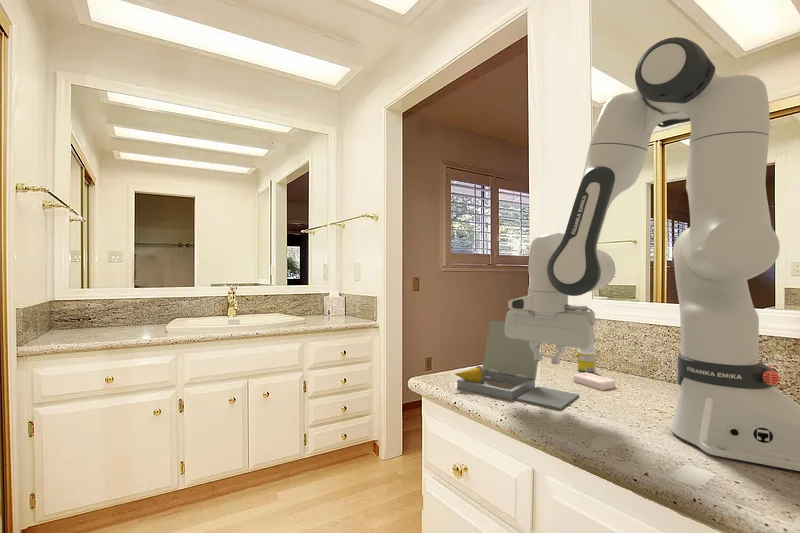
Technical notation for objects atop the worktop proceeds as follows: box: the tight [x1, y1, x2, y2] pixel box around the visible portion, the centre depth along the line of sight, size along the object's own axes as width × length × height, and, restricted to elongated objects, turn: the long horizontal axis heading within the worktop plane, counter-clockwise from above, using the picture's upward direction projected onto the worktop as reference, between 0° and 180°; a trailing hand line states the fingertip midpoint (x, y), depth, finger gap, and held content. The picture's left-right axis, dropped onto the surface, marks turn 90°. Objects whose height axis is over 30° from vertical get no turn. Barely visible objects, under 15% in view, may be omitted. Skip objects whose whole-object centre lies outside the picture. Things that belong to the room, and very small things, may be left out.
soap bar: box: [572, 372, 616, 391], centre depth 106 cm, size 5×9×2 cm, turn 26°
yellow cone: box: [454, 365, 491, 384], centre depth 104 cm, size 5×5×10 cm
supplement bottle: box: [577, 344, 597, 375], centre depth 118 cm, size 5×5×8 cm
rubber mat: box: [516, 386, 580, 411], centre depth 95 cm, size 10×12×1 cm
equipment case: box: [456, 320, 542, 401], centre depth 107 cm, size 15×20×15 cm
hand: (546, 362), depth 95 cm, fingers open, 3 cm apart
